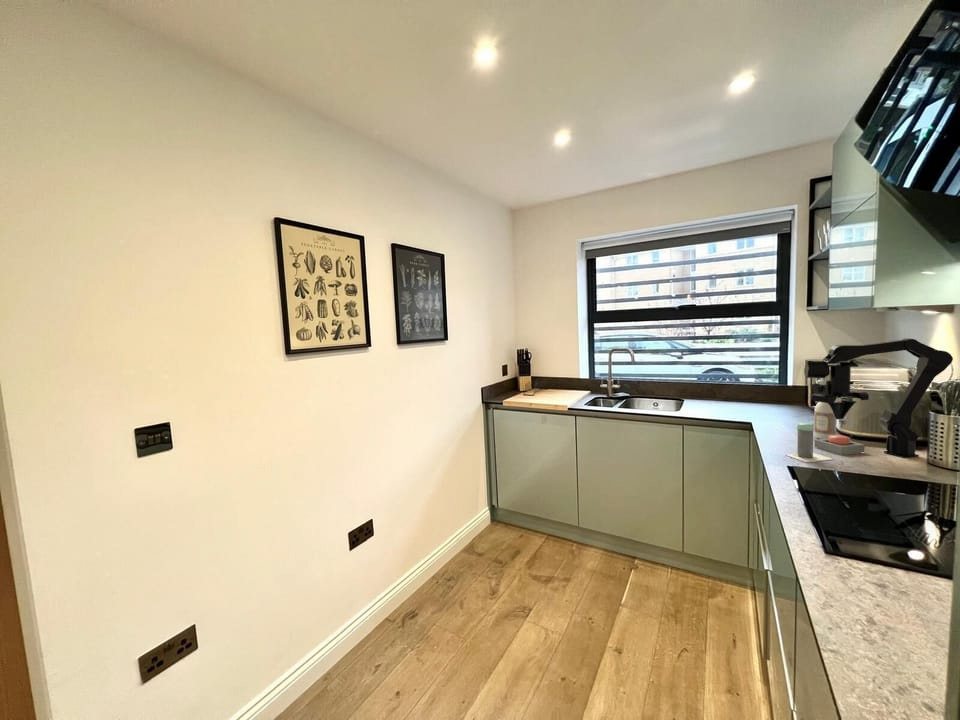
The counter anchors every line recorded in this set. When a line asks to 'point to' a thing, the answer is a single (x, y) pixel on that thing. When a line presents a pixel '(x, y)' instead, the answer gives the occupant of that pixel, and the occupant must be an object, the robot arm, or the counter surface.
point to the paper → (815, 458)
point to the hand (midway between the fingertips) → (839, 419)
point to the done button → (839, 440)
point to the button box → (839, 447)
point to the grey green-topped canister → (805, 440)
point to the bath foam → (824, 421)
